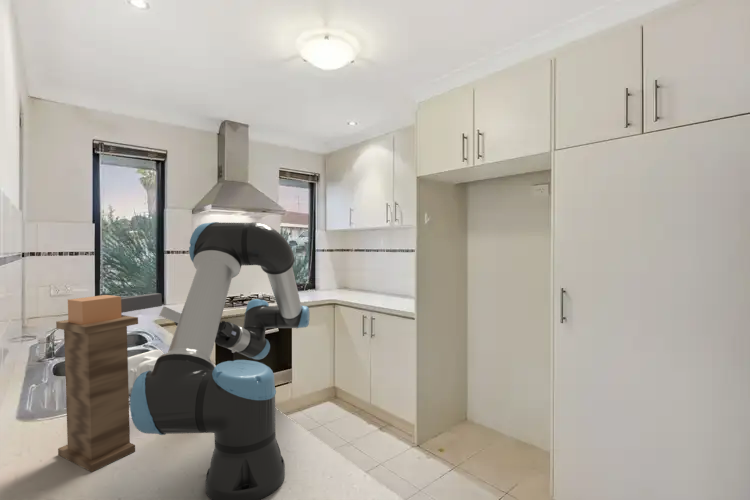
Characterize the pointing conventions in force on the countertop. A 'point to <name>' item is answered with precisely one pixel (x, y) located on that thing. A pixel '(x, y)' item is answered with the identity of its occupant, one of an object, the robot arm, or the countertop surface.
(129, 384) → the cable organizer
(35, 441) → the countertop surface
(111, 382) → the wooden pedestal
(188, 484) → the countertop surface
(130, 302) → the plug
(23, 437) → the countertop surface
